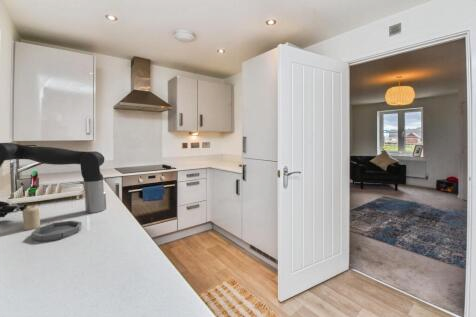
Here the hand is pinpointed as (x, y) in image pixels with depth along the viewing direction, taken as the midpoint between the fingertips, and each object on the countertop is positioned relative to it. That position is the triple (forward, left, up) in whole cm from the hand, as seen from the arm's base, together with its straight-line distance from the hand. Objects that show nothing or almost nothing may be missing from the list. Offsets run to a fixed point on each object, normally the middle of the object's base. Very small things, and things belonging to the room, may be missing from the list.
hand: (15, 212), depth 110 cm
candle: (0, +12, -6) cm, 14 cm away
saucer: (0, +30, -6) cm, 31 cm away
